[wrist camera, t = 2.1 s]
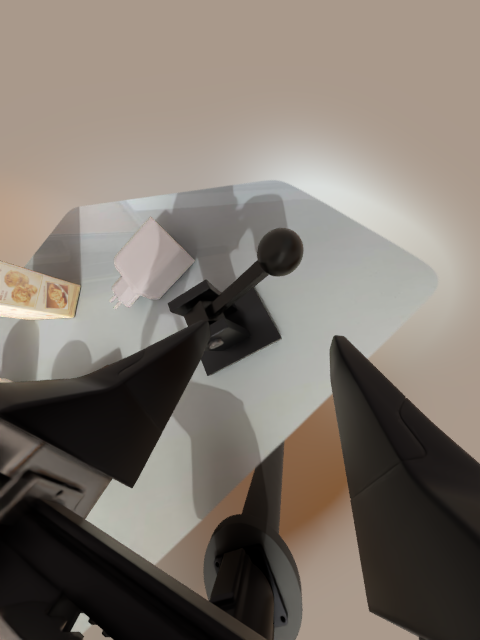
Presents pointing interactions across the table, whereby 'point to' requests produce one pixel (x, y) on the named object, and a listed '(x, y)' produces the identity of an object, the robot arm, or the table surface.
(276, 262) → the lever
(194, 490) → the table surface
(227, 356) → the black lever mechanism
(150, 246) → the charger
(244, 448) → the table surface
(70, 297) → the coffeecake box
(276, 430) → the table surface
